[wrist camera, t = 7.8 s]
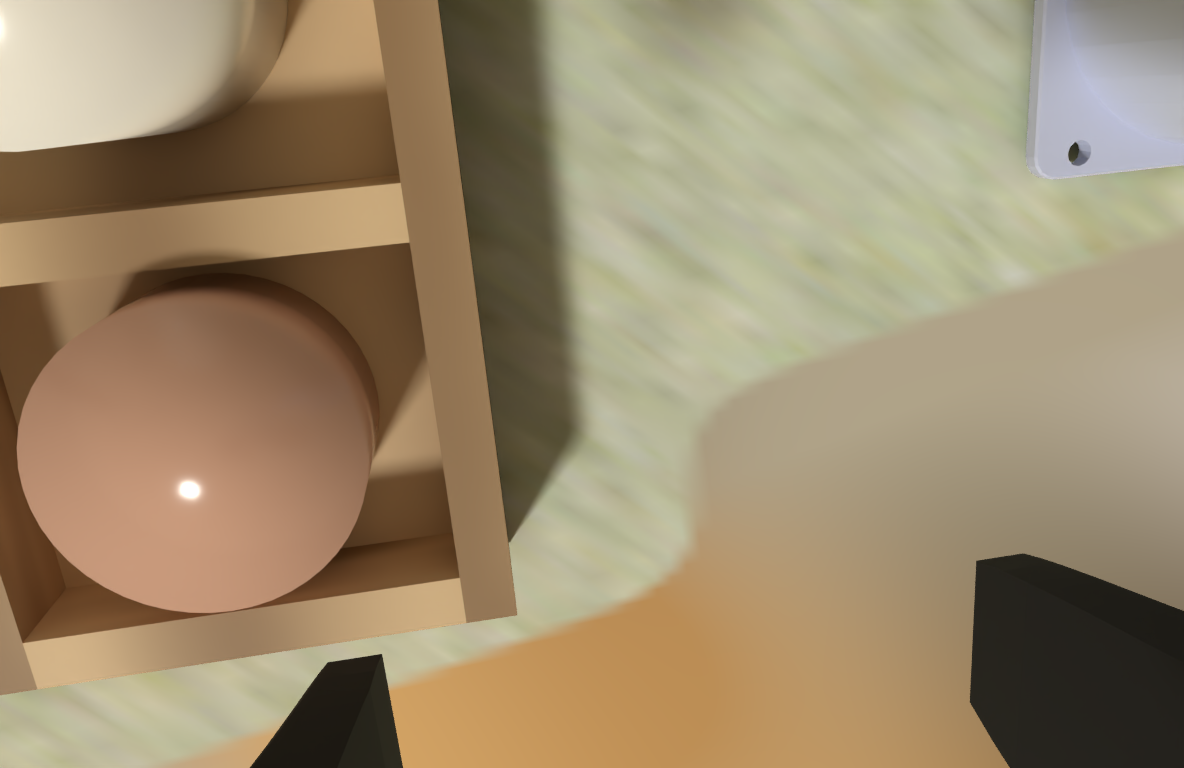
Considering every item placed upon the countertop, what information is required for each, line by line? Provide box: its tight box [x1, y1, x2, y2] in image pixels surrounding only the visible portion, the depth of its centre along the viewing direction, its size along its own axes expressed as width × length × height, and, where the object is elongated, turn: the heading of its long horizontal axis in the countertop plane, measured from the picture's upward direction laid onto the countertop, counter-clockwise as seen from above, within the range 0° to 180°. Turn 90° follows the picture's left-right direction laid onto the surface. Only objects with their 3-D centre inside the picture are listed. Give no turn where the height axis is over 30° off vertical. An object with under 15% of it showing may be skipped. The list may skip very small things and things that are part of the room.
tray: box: [0, 0, 517, 695], centre depth 17 cm, size 10×16×3 cm, turn 5°
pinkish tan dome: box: [17, 273, 380, 613], centre depth 17 cm, size 6×6×3 cm
